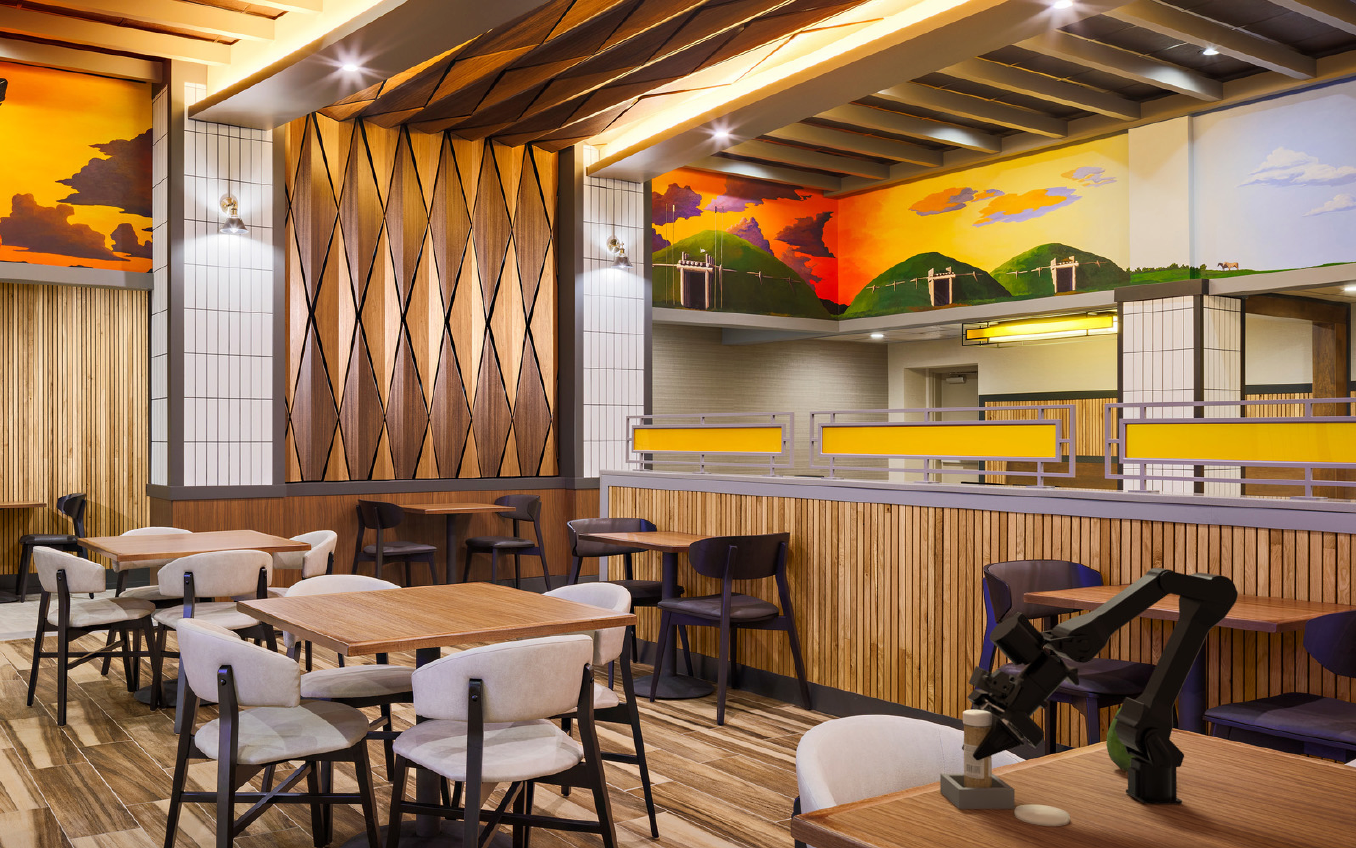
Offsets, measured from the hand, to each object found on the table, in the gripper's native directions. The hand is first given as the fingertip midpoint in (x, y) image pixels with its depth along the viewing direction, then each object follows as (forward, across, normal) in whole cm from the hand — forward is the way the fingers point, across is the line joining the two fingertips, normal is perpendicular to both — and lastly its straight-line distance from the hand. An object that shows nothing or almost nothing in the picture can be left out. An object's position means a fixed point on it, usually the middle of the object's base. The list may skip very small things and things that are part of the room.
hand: (969, 754), depth 170 cm
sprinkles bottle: (+4, 0, +6) cm, 7 cm away
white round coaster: (0, +9, +11) cm, 14 cm away
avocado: (-20, -17, +31) cm, 41 cm away
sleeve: (+4, 0, +6) cm, 7 cm away
